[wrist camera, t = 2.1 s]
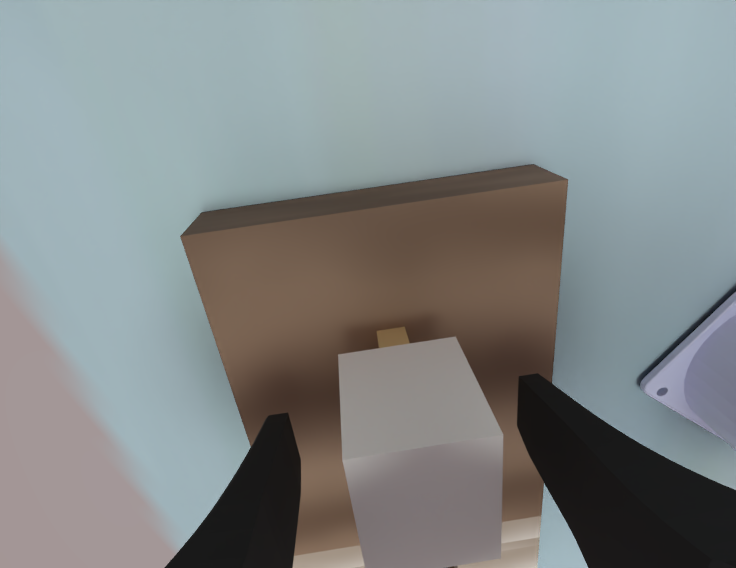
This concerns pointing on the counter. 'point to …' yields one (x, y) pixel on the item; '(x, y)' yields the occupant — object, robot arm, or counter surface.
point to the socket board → (385, 318)
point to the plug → (420, 454)
